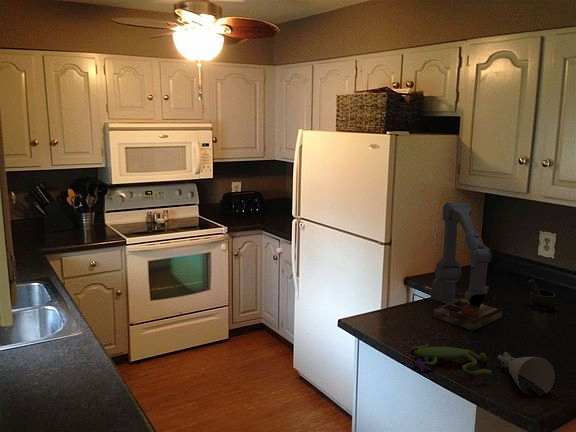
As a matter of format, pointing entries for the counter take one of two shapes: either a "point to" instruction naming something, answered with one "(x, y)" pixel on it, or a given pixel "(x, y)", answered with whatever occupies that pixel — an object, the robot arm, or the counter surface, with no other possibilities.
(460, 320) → the trap board
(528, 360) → the rocket engine
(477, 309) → the block
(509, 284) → the counter surface
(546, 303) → the mortar and pestle
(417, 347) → the figurine
